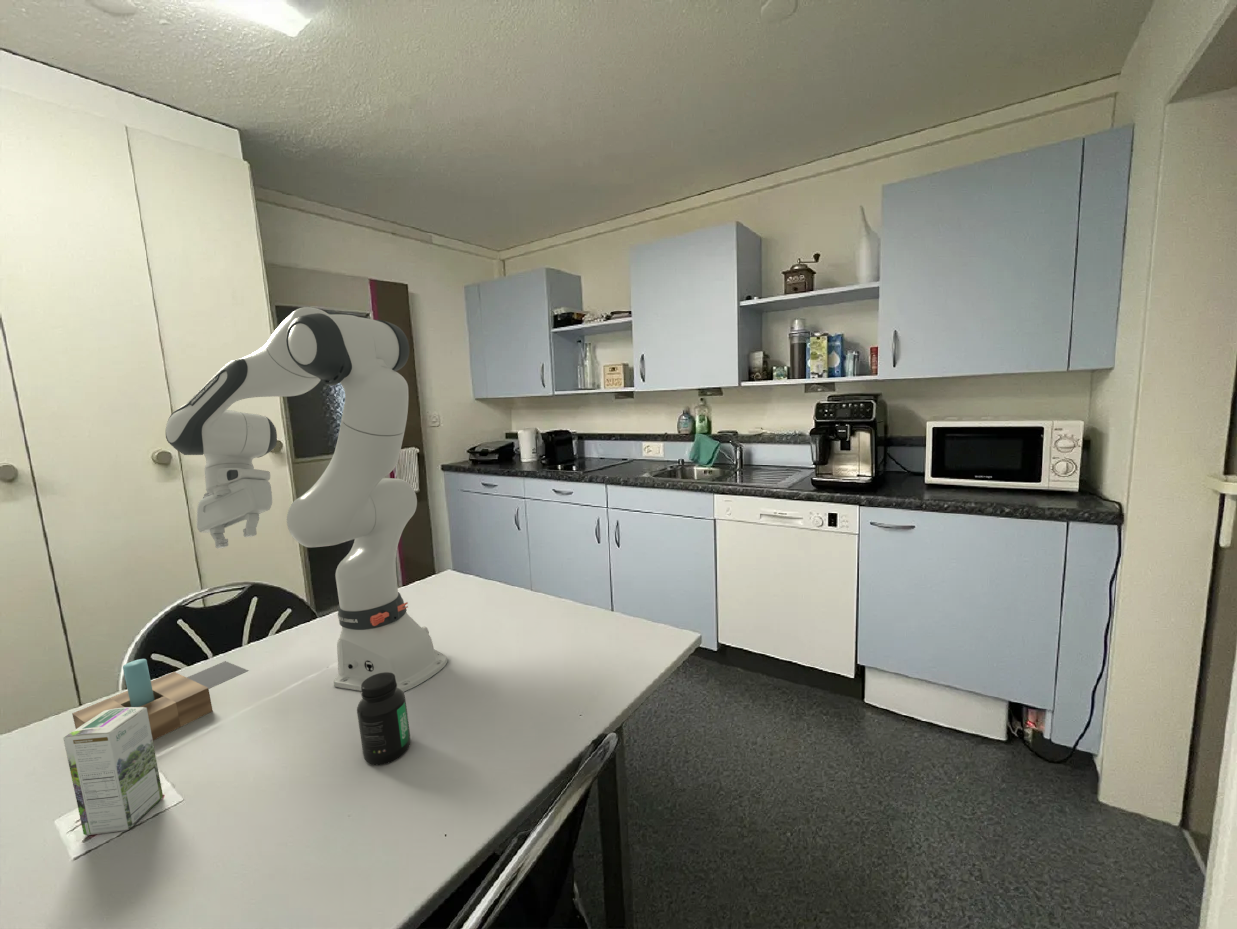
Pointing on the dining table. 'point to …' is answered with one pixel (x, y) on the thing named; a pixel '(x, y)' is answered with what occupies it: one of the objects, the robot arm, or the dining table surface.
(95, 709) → the hole block
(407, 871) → the dining table surface
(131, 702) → the peg
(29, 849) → the dining table surface
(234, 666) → the mat
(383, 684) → the supplement bottle
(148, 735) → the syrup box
